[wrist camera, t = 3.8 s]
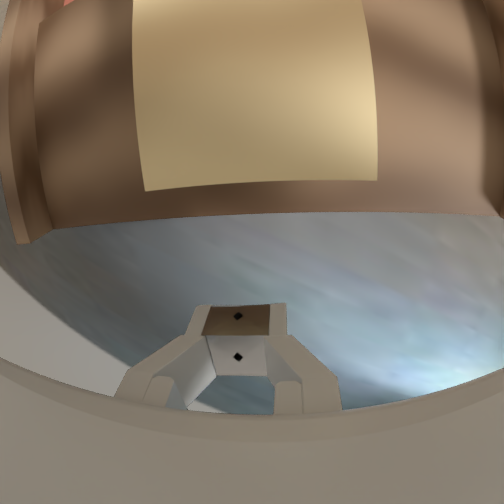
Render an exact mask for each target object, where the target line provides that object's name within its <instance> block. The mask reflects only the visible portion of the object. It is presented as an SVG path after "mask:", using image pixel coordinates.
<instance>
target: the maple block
mask: <svg viewBox="0 0 504 504" xmlns="http://www.w3.org/2000/svg"><path fill="white" fill-rule="evenodd" d="M132 64H133V88H134V103H135V115H136V126H137V136H138V145H139V153H140V160H141V168H142V175H143V181H144V188H145V191H154V190H162V189H171V188H181V187H191V186H202V185H214V184H228V183H243V182H263V181H291V180H367V181H377V167H378V143H377V113H376V97H375V85H374V75H373V66H372V58H371V51H370V44H369V38H368V32H367V26H366V21H365V16H364V11H363V6H362V2H361V0H133V20H132Z"/></svg>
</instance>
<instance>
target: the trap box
mask: <svg viewBox="0 0 504 504" xmlns="http://www.w3.org/2000/svg"><path fill="white" fill-rule="evenodd" d="M361 2H362V6H363V11H364V16H365V21H366V26H367V32H368V38H369V44H370V51H371V58H372V66H373V75H374V85H375V97H376V113H377V143H378V167H377V181H367V180H291V181H263V182H243V183H228V184H214V185H202V186H191V187H181V188H171V189H162V190H154V191H145V188H144V181H143V175H142V168H141V160H140V153H139V145H138V136H137V126H136V115H135V103H134V88H133V64H132V20H133V0H10V1H9V5H8V9H7V13H6V17H5V21H4V26H3V31H2V36H1V42H0V173H1V179H2V185H3V190H4V196H5V200H6V205H7V209H8V214H9V218H10V222H11V225H12V229H13V233H14V236H15V240H16V243H17V245H18V244H29V243H32V242H33V241H35V240H36V239H38V238H40V237H41V236H43V235H45V234H46V233H48V232H50V231H51V230H53V229H60V228H69V227H78V226H87V225H97V224H107V223H118V222H129V221H141V220H153V219H167V218H182V217H198V216H215V215H236V214H260V213H294V212H415V213H446V214H468V215H485V216H500V217H501V218H503V219H504V0H361Z"/></svg>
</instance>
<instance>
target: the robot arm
mask: <svg viewBox="0 0 504 504" xmlns="http://www.w3.org/2000/svg"><path fill="white" fill-rule="evenodd" d="M216 375H242V376H267V377H268V379H269V380H270V382H271V383H272V385H273V386H274V388H275V397H274V414H273V415H250V414H226V413H211V412H199V411H190V410H188V409H187V407H188V406H189V405H190V404H191V403H192V402H193V401H194V400H195V399H196V398H197V397H198V395H199V394H200V393H201V392H202V391H203V390H204V389H205V388H206V387H207V386H208V385H209V384H210V383H211V382H212V381H213V380H214V379H215V378H216ZM0 504H504V368H502V369H500V370H497V371H495V372H492V373H490V374H487V375H485V376H482V377H480V378H477V379H474V380H471V381H469V382H466V383H463V384H460V385H457V386H454V387H451V388H447V389H444V390H441V391H437V392H434V393H430V394H426V395H422V396H418V397H414V398H410V399H405V400H401V401H396V402H391V403H386V404H381V405H375V406H369V407H362V408H355V409H348V410H342V404H341V398H340V392H339V386H338V380H337V376H335V375H334V374H333V373H332V372H331V371H330V370H329V369H328V368H327V367H326V366H325V365H323V364H322V363H321V362H320V361H319V360H318V359H317V358H316V357H315V356H314V355H313V354H312V353H311V352H309V351H308V350H307V349H306V348H305V347H304V346H303V345H302V344H301V343H300V342H299V341H298V340H297V339H296V338H295V337H294V336H292V335H287V311H286V303H275V304H264V305H198V306H197V307H196V308H195V311H194V313H193V315H192V318H191V320H190V323H189V325H188V327H187V330H186V332H185V335H180V336H178V337H177V338H175V339H174V340H172V341H171V342H169V343H168V344H166V345H165V346H163V347H162V348H160V349H159V350H157V351H156V352H154V353H153V354H151V355H150V356H148V357H147V358H145V359H144V360H142V361H141V362H139V363H138V364H136V365H135V366H133V367H132V368H130V369H129V370H128V371H127V372H126V374H125V376H124V378H123V380H122V382H121V384H120V386H119V388H118V389H117V391H116V394H115V396H114V397H111V396H107V395H103V394H99V393H95V392H91V391H88V390H84V389H81V388H78V387H75V386H71V385H68V384H65V383H62V382H59V381H56V380H53V379H51V378H48V377H45V376H42V375H40V374H37V373H35V372H32V371H30V370H27V369H25V368H23V367H20V366H18V365H16V364H13V363H11V362H9V361H7V360H5V359H3V358H1V357H0Z"/></svg>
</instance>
